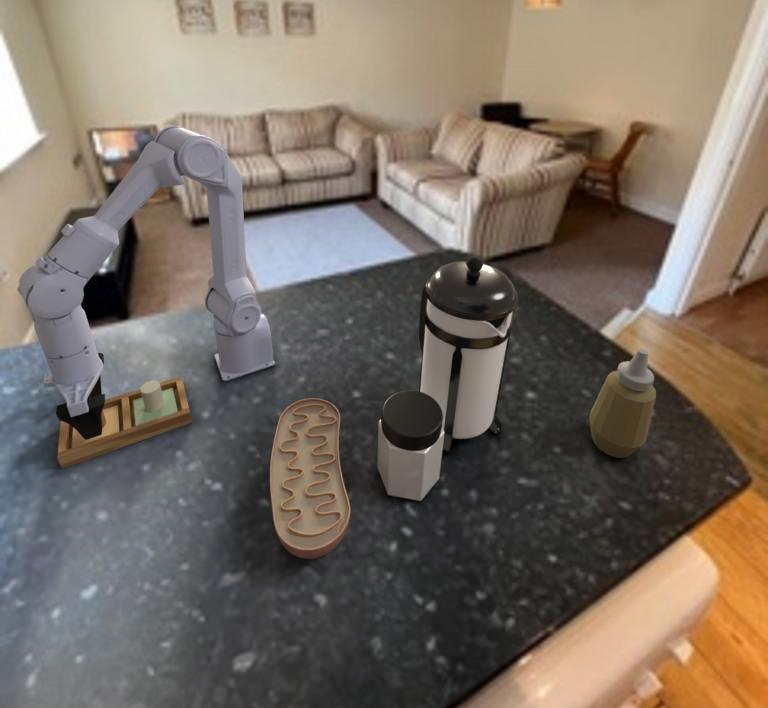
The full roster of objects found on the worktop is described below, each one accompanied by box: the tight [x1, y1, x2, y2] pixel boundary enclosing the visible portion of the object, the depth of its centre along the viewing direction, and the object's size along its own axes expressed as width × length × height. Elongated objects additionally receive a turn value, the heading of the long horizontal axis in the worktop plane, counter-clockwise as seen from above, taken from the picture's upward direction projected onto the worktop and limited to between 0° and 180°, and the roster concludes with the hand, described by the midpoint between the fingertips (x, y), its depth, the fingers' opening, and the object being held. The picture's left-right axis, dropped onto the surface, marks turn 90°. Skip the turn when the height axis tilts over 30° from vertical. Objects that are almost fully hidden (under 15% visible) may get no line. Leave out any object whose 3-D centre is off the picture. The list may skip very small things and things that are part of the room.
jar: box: [376, 389, 444, 502], centre depth 62 cm, size 9×8×12 cm
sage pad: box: [133, 380, 178, 426], centre depth 71 cm, size 6×6×5 cm
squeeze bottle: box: [588, 348, 657, 459], centre depth 66 cm, size 8×8×18 cm
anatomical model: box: [269, 397, 352, 560], centre depth 61 cm, size 23×10×5 cm, turn 10°
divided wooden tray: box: [56, 376, 193, 470], centre depth 70 cm, size 9×17×2 cm, turn 120°
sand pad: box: [72, 405, 120, 448], centre depth 68 cm, size 6×6×5 cm
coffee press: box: [418, 255, 519, 455], centre depth 68 cm, size 17×16×30 cm
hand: (93, 417), depth 68 cm, fingers open, 7 cm apart
